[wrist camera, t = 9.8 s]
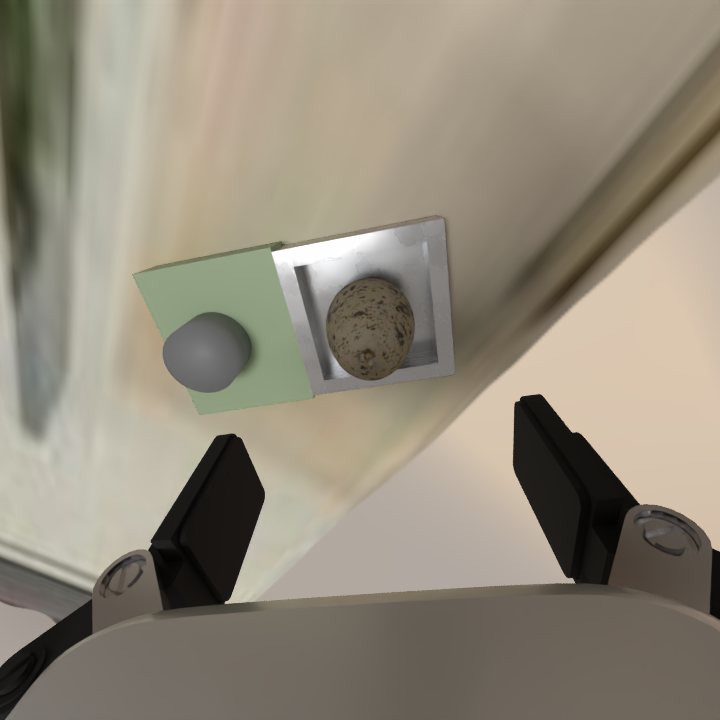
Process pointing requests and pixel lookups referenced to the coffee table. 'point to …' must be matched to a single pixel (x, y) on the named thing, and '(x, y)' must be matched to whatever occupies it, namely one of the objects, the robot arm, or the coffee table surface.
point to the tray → (371, 260)
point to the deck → (246, 304)
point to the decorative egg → (370, 328)
